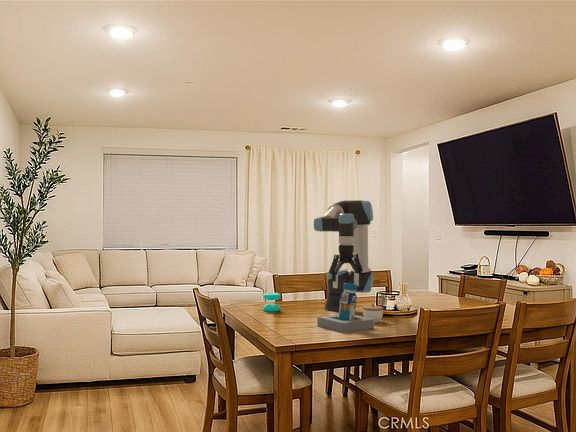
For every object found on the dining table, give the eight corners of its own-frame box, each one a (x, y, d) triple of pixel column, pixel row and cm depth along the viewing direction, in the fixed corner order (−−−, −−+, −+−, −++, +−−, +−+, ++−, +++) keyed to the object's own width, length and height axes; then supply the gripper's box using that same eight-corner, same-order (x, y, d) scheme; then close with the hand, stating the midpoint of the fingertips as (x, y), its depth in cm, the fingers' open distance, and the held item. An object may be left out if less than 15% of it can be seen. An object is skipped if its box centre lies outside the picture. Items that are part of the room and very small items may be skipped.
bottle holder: (348, 322, 316) (348, 313, 316) (374, 328, 299) (374, 319, 299) (317, 325, 304) (317, 316, 304) (342, 332, 288) (342, 323, 288)
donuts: (283, 293, 350) (269, 295, 344) (283, 311, 350) (269, 312, 344) (273, 291, 358) (259, 293, 352) (273, 308, 358) (259, 310, 352)
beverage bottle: (334, 321, 306) (339, 282, 307) (350, 322, 308) (355, 283, 309) (340, 324, 298) (345, 284, 298) (356, 325, 300) (361, 285, 300)
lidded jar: (384, 320, 321) (385, 303, 321) (381, 324, 310) (381, 306, 310) (365, 319, 324) (365, 302, 324) (360, 322, 314) (360, 304, 314)
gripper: (360, 243, 312) (359, 284, 312) (321, 244, 298) (321, 287, 298) (370, 244, 305) (369, 286, 306) (331, 245, 291) (330, 289, 292)
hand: (345, 287), depth 302 cm, fingers open, 13 cm apart
